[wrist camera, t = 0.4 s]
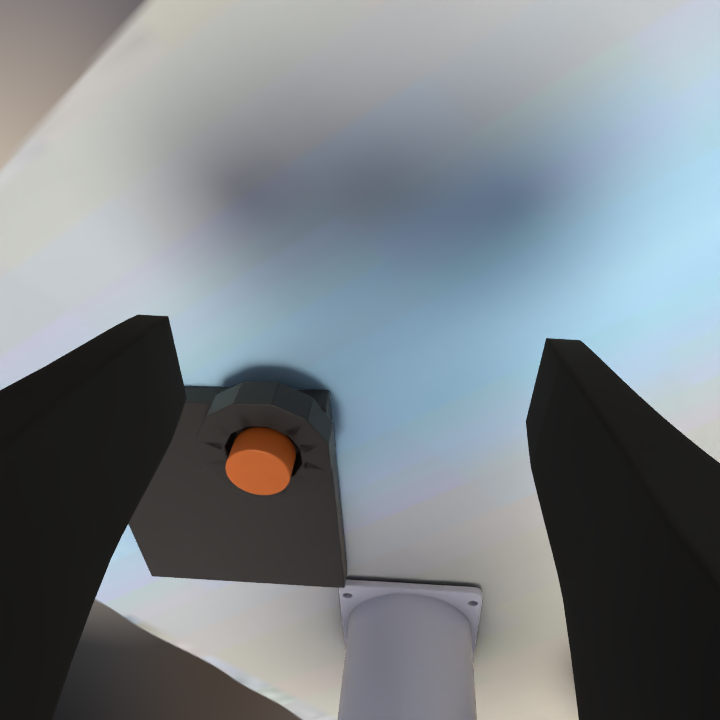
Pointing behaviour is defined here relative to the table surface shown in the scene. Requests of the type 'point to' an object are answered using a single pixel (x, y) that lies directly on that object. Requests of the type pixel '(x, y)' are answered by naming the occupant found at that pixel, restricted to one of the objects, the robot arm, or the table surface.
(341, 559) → the scale
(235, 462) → the button
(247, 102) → the table surface
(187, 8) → the table surface
